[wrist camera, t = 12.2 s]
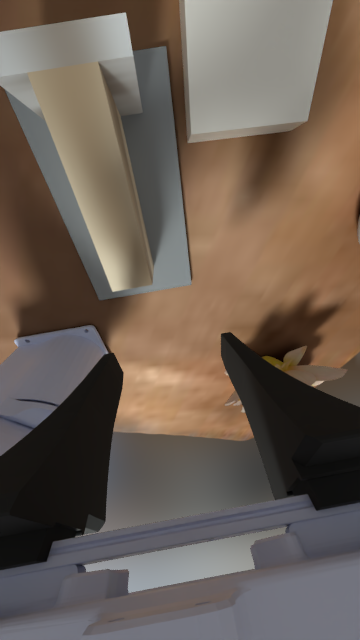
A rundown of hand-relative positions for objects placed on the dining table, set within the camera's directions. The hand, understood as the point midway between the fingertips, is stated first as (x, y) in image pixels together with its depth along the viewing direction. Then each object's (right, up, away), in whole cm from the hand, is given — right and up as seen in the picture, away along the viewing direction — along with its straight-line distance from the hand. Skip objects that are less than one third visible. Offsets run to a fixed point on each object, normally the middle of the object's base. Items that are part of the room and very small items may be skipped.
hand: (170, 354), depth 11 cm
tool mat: (-4, +12, +3) cm, 13 cm away
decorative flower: (+14, -5, +17) cm, 22 cm away
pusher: (-4, +11, +3) cm, 12 cm away
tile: (+5, +16, +1) cm, 17 cm away
